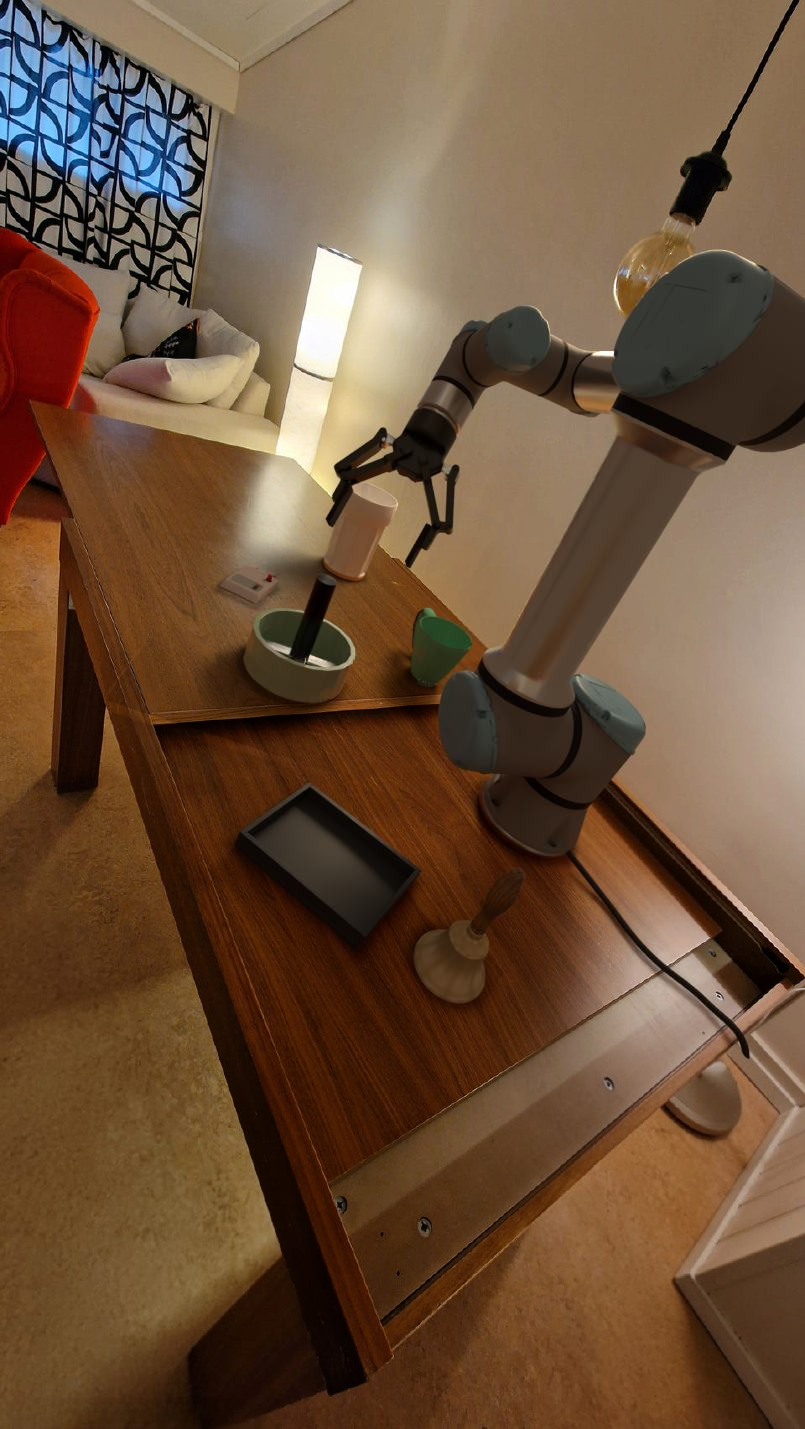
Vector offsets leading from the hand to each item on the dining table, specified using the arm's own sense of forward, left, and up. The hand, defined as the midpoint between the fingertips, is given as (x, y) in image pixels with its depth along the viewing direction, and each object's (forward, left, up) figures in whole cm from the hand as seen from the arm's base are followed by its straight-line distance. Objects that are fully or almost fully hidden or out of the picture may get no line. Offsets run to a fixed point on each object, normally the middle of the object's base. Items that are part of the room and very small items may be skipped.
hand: (367, 544), depth 94 cm
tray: (-27, +35, -20) cm, 49 cm away
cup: (+18, -30, -20) cm, 40 cm away
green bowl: (-1, +10, -20) cm, 23 cm away
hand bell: (-44, +35, -20) cm, 60 cm away
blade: (-1, +10, -19) cm, 22 cm away
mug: (-12, -13, -20) cm, 27 cm away
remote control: (+20, -3, -20) cm, 29 cm away
